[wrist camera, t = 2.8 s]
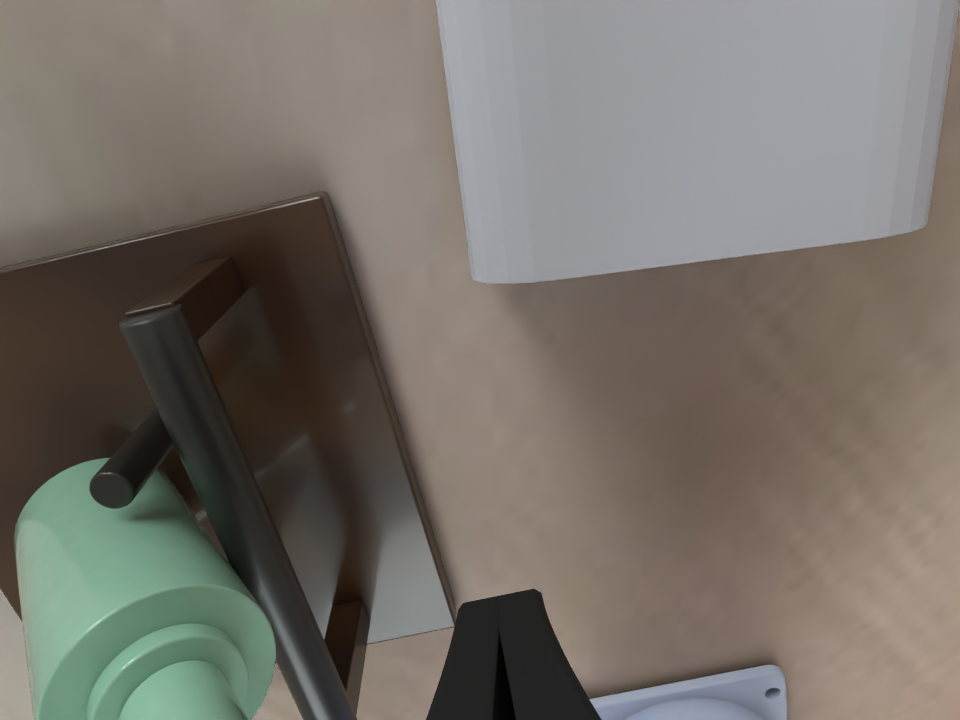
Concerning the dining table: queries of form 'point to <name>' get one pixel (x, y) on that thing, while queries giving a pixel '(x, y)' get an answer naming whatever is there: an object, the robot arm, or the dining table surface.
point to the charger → (689, 127)
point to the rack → (231, 423)
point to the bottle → (134, 609)
